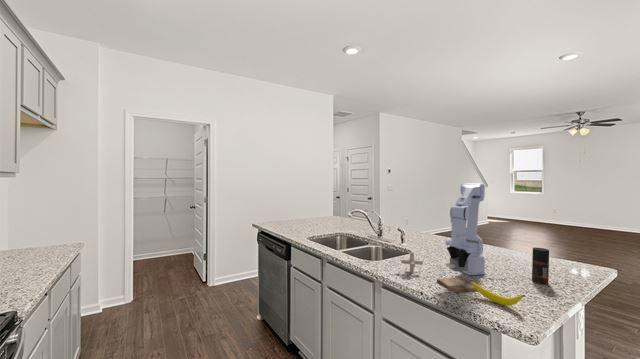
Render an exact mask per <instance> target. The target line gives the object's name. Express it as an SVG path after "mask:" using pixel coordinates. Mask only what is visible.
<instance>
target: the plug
mask: <svg viewBox="0 0 640 359" xmlns="http://www.w3.org/2000/svg"><path fill="white" fill-rule="evenodd" d="M445 267H447V268H449V269H450V270H451V271H454V272H461V271H468V259H467V261H466V263H465V267H459V260H458V258H451V257H450V258H449V262H447V263H445Z"/></svg>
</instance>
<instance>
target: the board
mask: <svg viewBox="0 0 640 359" xmlns="http://www.w3.org/2000/svg"><path fill="white" fill-rule="evenodd" d="M436 282H437V283H438V284H440V285H442V286H443V287H445V288H447V289H448V290H450V291H452V292H454V293H464V292H478V291H477V290H476V289H475V287H474V286H473V285H472V283H471V282H472V281H469V280H467V279H465V278H462V277H447V278H446V277H445V278H437V279H436Z"/></svg>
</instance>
